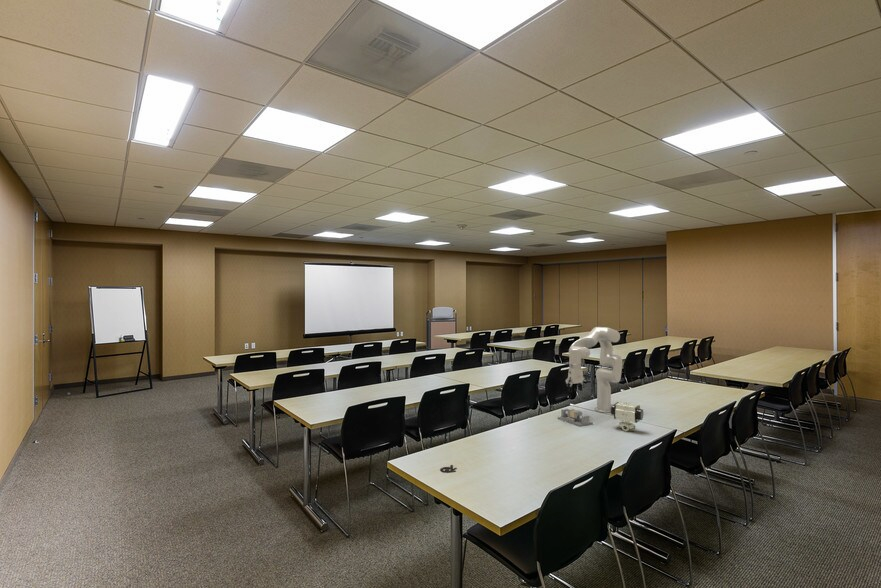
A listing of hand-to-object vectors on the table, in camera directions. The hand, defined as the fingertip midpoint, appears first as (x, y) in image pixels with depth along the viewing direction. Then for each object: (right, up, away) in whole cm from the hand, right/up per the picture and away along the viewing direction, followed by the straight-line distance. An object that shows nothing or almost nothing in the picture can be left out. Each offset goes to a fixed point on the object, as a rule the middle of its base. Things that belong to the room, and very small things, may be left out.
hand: (575, 391), depth 287 cm
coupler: (0, -19, -1) cm, 19 cm away
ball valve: (+27, -21, -19) cm, 39 cm away
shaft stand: (0, -20, -1) cm, 20 cm away
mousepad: (-86, -20, -79) cm, 119 cm away
